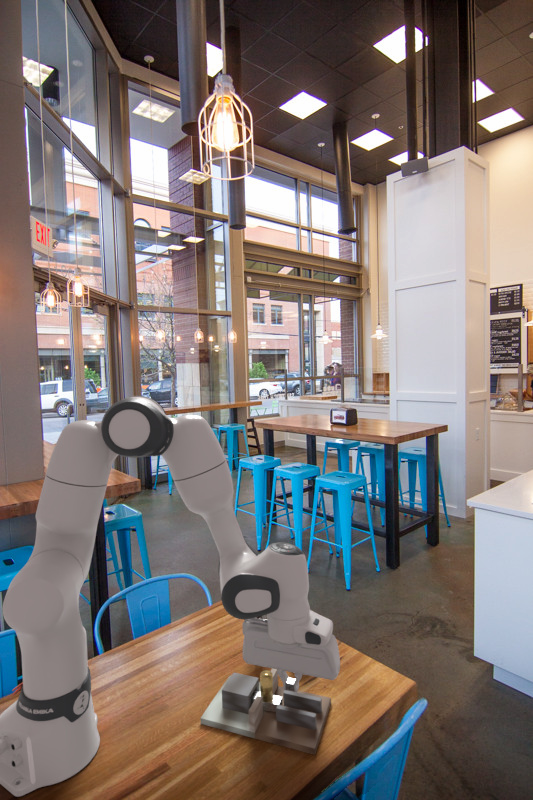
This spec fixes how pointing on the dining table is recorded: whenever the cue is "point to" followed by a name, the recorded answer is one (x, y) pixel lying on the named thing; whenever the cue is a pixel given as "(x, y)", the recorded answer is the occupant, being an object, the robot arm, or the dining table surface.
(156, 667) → the dining table surface
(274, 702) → the bolt
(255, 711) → the lock board
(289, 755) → the dining table surface
